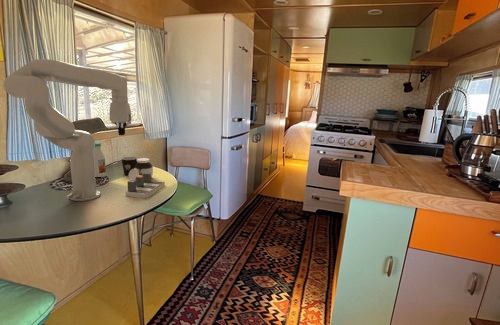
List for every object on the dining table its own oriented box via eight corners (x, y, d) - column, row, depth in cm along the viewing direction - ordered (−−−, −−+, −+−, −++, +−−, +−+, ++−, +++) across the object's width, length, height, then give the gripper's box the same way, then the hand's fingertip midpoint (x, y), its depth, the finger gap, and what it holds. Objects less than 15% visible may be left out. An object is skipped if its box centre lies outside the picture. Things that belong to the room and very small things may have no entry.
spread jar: (154, 176, 165) (154, 158, 163) (147, 182, 154) (146, 162, 152) (135, 175, 166) (134, 157, 163) (126, 181, 155) (125, 161, 152)
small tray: (146, 198, 132) (146, 184, 130) (125, 195, 133) (125, 182, 131) (164, 185, 151) (164, 173, 150) (146, 183, 152) (145, 171, 151)
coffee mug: (119, 174, 165) (118, 158, 163) (128, 171, 173) (128, 156, 171) (134, 177, 162) (134, 161, 160) (144, 173, 170) (143, 158, 168)
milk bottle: (94, 179, 155) (91, 144, 150) (89, 175, 160) (86, 142, 155) (108, 176, 160) (106, 143, 156) (103, 173, 165) (100, 141, 161)
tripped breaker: (141, 186, 141) (141, 176, 139) (135, 185, 141) (135, 176, 140) (143, 184, 143) (143, 175, 142) (138, 184, 143) (138, 175, 142)
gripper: (102, 99, 138) (104, 134, 143) (129, 101, 137) (130, 137, 141) (111, 99, 146) (113, 133, 150) (137, 101, 144) (138, 135, 148)
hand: (121, 134), depth 145 cm, fingers closed
